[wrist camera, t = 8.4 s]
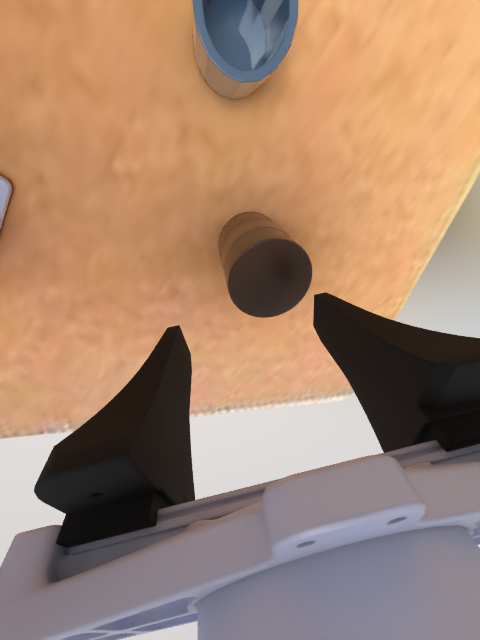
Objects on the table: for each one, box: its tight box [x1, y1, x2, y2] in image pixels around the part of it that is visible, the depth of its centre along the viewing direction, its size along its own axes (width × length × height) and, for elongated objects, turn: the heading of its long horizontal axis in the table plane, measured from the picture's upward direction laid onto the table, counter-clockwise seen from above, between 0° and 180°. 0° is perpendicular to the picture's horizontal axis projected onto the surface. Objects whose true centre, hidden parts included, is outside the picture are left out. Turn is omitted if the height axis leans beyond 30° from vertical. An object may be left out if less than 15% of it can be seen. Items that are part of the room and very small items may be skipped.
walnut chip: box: [224, 227, 312, 318], centre depth 15 cm, size 5×5×2 cm
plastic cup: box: [192, 0, 298, 99], centre depth 12 cm, size 4×4×4 cm
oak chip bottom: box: [218, 212, 274, 261], centre depth 19 cm, size 5×5×2 cm
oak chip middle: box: [221, 219, 291, 269], centre depth 17 cm, size 5×5×2 cm
